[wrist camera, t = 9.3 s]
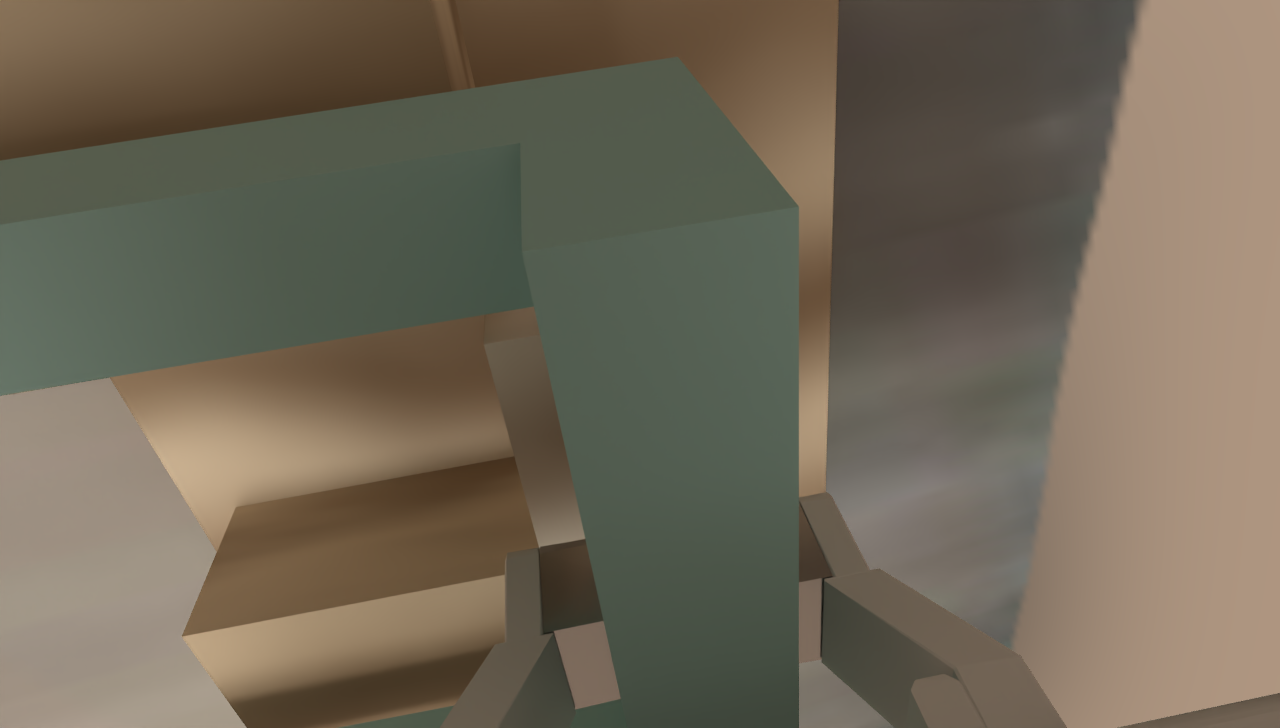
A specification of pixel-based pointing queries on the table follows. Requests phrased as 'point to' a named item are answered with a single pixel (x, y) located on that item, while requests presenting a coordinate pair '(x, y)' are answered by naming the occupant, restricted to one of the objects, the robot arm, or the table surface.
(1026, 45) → the table surface
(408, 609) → the display stand
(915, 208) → the table surface
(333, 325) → the teal c-shaped bracket
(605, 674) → the robot arm
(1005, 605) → the table surface
